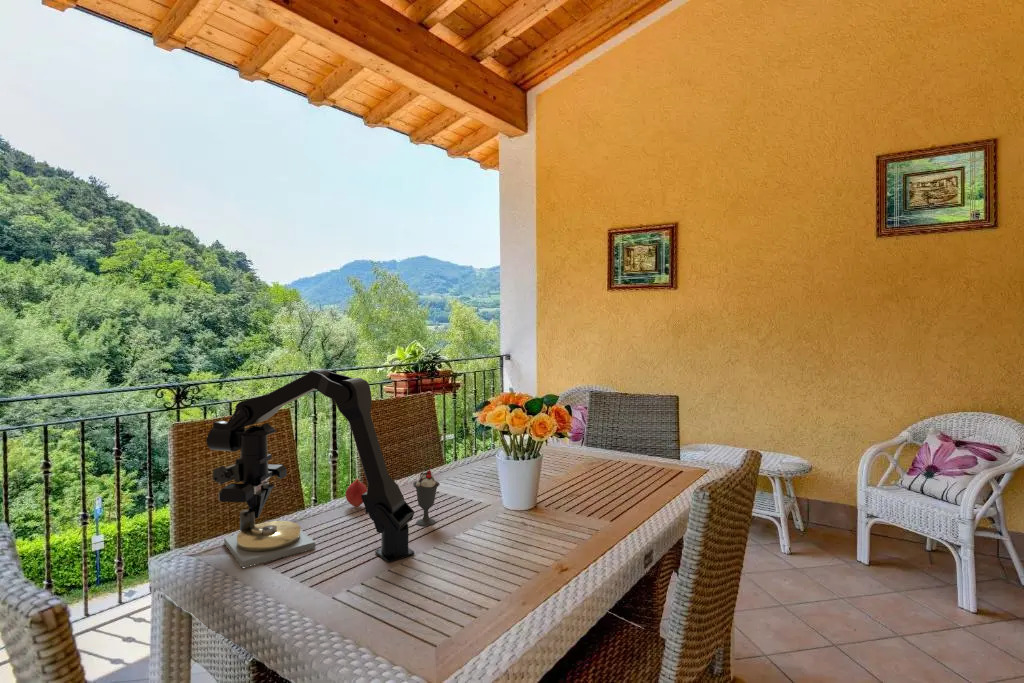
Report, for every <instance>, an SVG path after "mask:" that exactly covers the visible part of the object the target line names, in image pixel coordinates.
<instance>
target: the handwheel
mask: <svg viewBox="0 0 1024 683" xmlns="http://www.w3.org/2000/svg"><path fill="white" fill-rule="evenodd" d="M255 519H256V518H255V510H253V509H249V508H247V509H243V510H241V511H240V512H239V529H240V530H239V533H238V534H236V535H237V546H238V547H239V548H241V549H243V550H247V551H268V550H274V549H278V548H282V547H285V546H288V545H290V544H292V543H294V542H295V541H297V540H298V539H299V537H300V529H301V526H300V525H299V524H298V523H296V522H294V521H288V520H274V521H266V522H262V523H261V522H260V523H257V524H256V521H255Z"/></svg>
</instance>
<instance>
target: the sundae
mask: <svg viewBox="0 0 1024 683" xmlns="http://www.w3.org/2000/svg"><path fill="white" fill-rule="evenodd" d="M432 468H433V466H432V465H430V467H428V470H427V471H426V472H420V476H419V478H418V479H417V480H416V481H414V482H413V484H412V486H413V488H415V491H416V497H417V504H418V506H419V507H420V508H421V509H422V510H423V517H422V518H419V519H418V520H416V522H415V523H416V525H417V526H420V527H430V526H434V525H435V524H436V522H437V521H436V520H435V519H434V518H430V516H429V510H430V509H431V508H433V506H434V504H435V500H436V493H437V490H438V489H437V488H438V487H439V486H440V482H438V481H437V480H435V477H434V475H433V473H432V471H431V469H432Z"/></svg>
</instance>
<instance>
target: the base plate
mask: <svg viewBox="0 0 1024 683" xmlns="http://www.w3.org/2000/svg"><path fill="white" fill-rule="evenodd" d="M237 535H238V534H235V535H231V536H226V537H224V538H223V539H224V540H223V545H224V544H225V545H226V546H225V545H224V546H225V548H226V549H227V548H228V549H229V550H230V551H229V550H228V549H227V550H228V551H229V552H230V554H231V553H232V554H233V555H234V556H233V555H232V554H231V555H232V556H233V558H234V557H235V558H236V559H237V560H236V559H235V558H234V559H235V560H236V562H237V561H238V562H239V563H240V564H239V563H238V562H237V563H238V564H239V566H240V565H241V566H242V567H246V568H248V567H247V566H250V565H253V566H255V565H254V564H257V565H259V564H258V563H261V564H263V563H262V562H264V563H266V562H265V561H268V562H270V561H269V560H272V561H274V560H273V559H275V560H278V559H277V558H279V559H282V558H281V557H283V558H286V557H289V556H288V555H290V556H293V555H292V554H294V555H296V554H295V553H297V554H300V553H299V552H301V553H303V552H302V551H305V550H308V551H311V550H310V549H312V550H314V549H316V541H314V539H312V538H311V537H310V536H309V535H308V534H306V532H305V531H303V530H302V529H301V528H300V537H299V539H298V540H297V541H295V542H294V543H292V544H290V545H288V546H285V547H282V548H278V549H274V550H268V551H247V550H243V549H241V548H239V547H238V546H237ZM305 552H306V551H305ZM285 556H286V557H285ZM242 567H241V568H242ZM250 567H251V566H250Z"/></svg>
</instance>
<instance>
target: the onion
mask: <svg viewBox="0 0 1024 683" xmlns="http://www.w3.org/2000/svg"><path fill="white" fill-rule="evenodd" d="M367 488H368V487H367V486H366V485H365V484H364V483H363V482H361V481H360V478H355V480H354V481H353V482H352V483H351V484H349V486H348V488H347V489H346V490H345V499H346V502H348V503H349V504H350V505H352V506H353V507H355V508H356V507H357V508H359V507H360V506H361V505H362V504H364V503H363V501H362V497H361V495H362V494H364V493H365V492H367Z"/></svg>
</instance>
